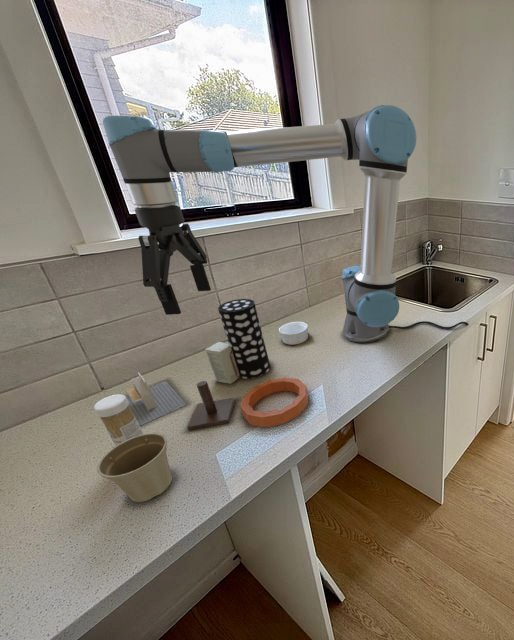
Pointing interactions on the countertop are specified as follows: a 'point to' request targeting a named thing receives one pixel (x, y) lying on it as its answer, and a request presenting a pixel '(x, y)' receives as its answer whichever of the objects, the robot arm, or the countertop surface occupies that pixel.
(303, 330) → the ramekin
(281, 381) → the ring
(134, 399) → the architectural model
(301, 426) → the countertop surface
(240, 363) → the spotted tube
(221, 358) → the pale small box
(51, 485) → the countertop surface
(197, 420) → the stand
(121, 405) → the sprinkles bottle
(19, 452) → the countertop surface
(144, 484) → the flower pot
